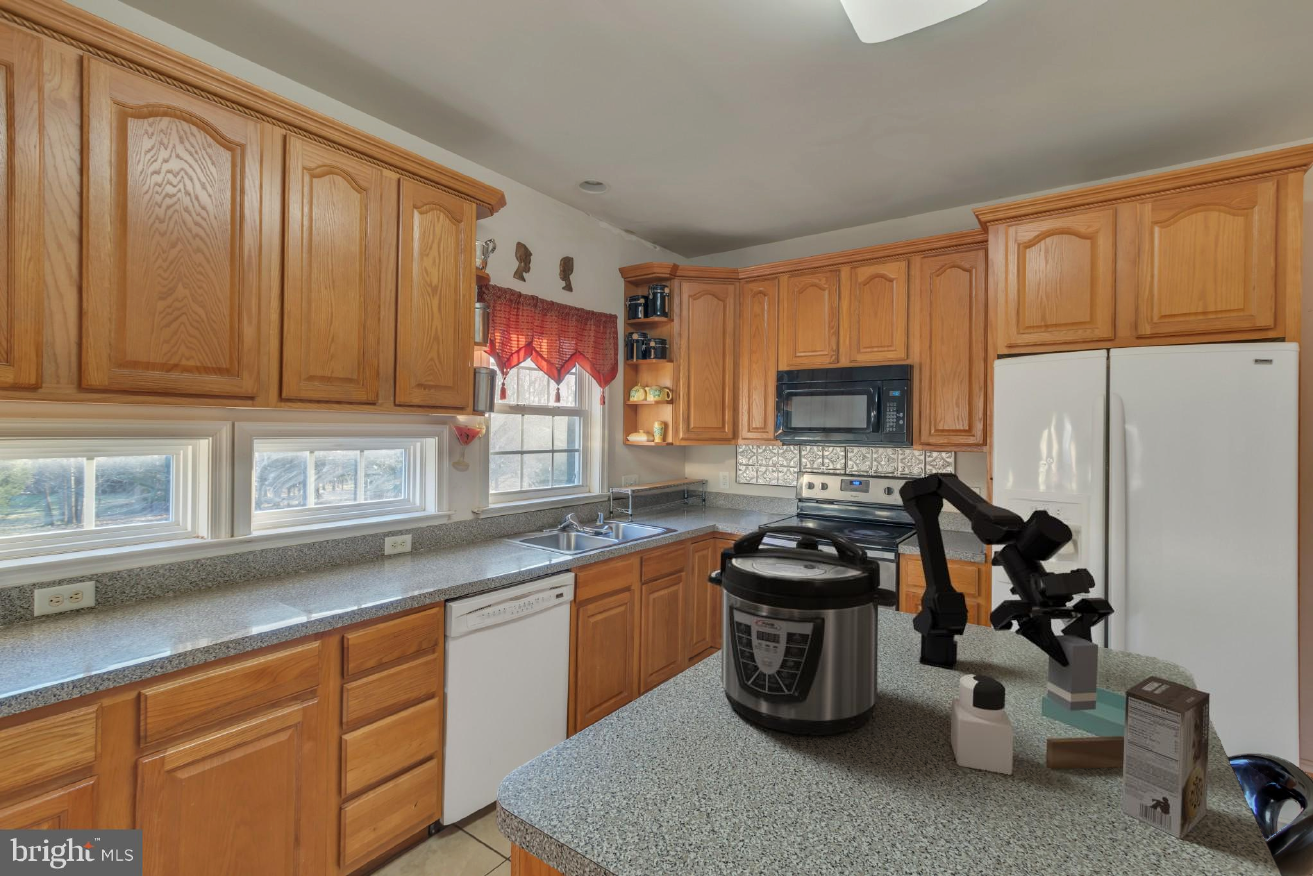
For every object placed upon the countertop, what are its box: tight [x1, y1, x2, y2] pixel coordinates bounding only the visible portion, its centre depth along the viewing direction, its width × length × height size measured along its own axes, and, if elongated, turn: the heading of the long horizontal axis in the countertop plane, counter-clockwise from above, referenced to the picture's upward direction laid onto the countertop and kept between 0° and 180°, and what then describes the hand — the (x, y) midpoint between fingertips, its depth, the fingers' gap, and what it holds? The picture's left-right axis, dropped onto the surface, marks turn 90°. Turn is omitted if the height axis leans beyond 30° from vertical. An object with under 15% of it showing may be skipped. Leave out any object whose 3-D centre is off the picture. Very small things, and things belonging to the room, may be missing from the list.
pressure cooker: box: [706, 525, 899, 736], centre depth 106 cm, size 30×28×32 cm
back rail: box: [1045, 736, 1124, 770], centre depth 88 cm, size 1×12×4 cm, turn 96°
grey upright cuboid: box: [1046, 634, 1099, 711], centre depth 93 cm, size 4×4×10 cm
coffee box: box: [1121, 675, 1211, 840], centre depth 77 cm, size 9×6×16 cm
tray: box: [1041, 685, 1126, 737], centre depth 102 cm, size 14×14×3 cm
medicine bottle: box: [950, 673, 1014, 776], centre depth 89 cm, size 7×7×12 cm
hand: (1080, 665), depth 92 cm, fingers closed on grey upright cuboid, 4 cm apart
